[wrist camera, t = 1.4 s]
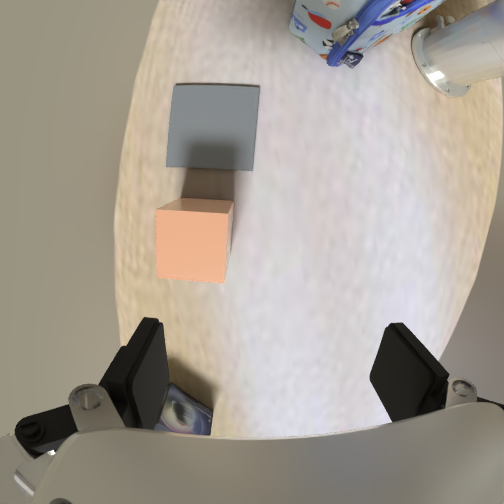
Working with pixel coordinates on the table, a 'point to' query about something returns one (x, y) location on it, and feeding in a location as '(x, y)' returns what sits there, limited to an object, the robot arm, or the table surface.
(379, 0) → the lunch box
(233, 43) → the table surface
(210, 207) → the peach rectangular block
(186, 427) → the small box
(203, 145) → the mat
